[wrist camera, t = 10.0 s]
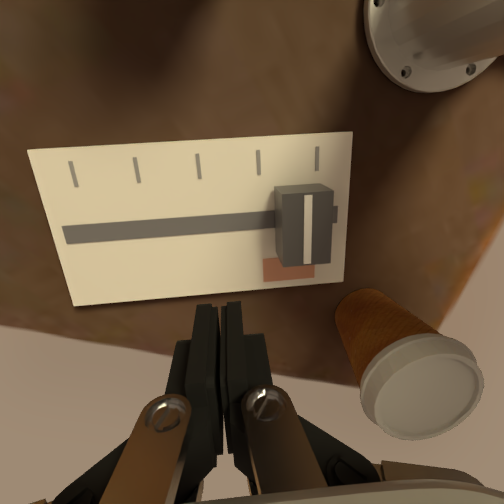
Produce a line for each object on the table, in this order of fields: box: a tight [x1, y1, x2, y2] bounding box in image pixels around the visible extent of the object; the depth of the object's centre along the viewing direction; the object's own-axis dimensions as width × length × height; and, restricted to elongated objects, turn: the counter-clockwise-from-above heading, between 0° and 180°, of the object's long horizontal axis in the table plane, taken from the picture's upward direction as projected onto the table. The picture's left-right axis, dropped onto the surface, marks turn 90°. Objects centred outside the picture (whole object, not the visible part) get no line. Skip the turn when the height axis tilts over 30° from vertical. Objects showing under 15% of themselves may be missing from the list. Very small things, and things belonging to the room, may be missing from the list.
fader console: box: [27, 132, 353, 306], centre depth 28 cm, size 26×14×2 cm, turn 93°
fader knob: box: [274, 183, 334, 267], centre depth 26 cm, size 4×6×4 cm, turn 3°
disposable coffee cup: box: [335, 288, 484, 440], centre depth 29 cm, size 10×10×12 cm
